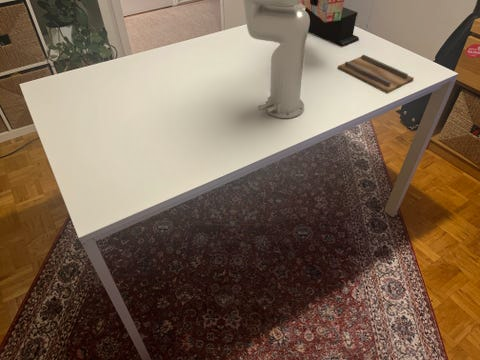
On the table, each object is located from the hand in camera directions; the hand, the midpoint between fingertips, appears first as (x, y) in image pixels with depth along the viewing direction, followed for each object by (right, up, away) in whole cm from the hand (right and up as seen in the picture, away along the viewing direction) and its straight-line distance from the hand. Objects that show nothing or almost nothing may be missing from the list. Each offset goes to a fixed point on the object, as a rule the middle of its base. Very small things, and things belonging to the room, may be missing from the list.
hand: (322, 2), depth 133 cm
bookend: (+10, -1, +29) cm, 31 cm away
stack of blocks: (0, -2, +3) cm, 4 cm away
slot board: (+20, -25, +2) cm, 32 cm away
